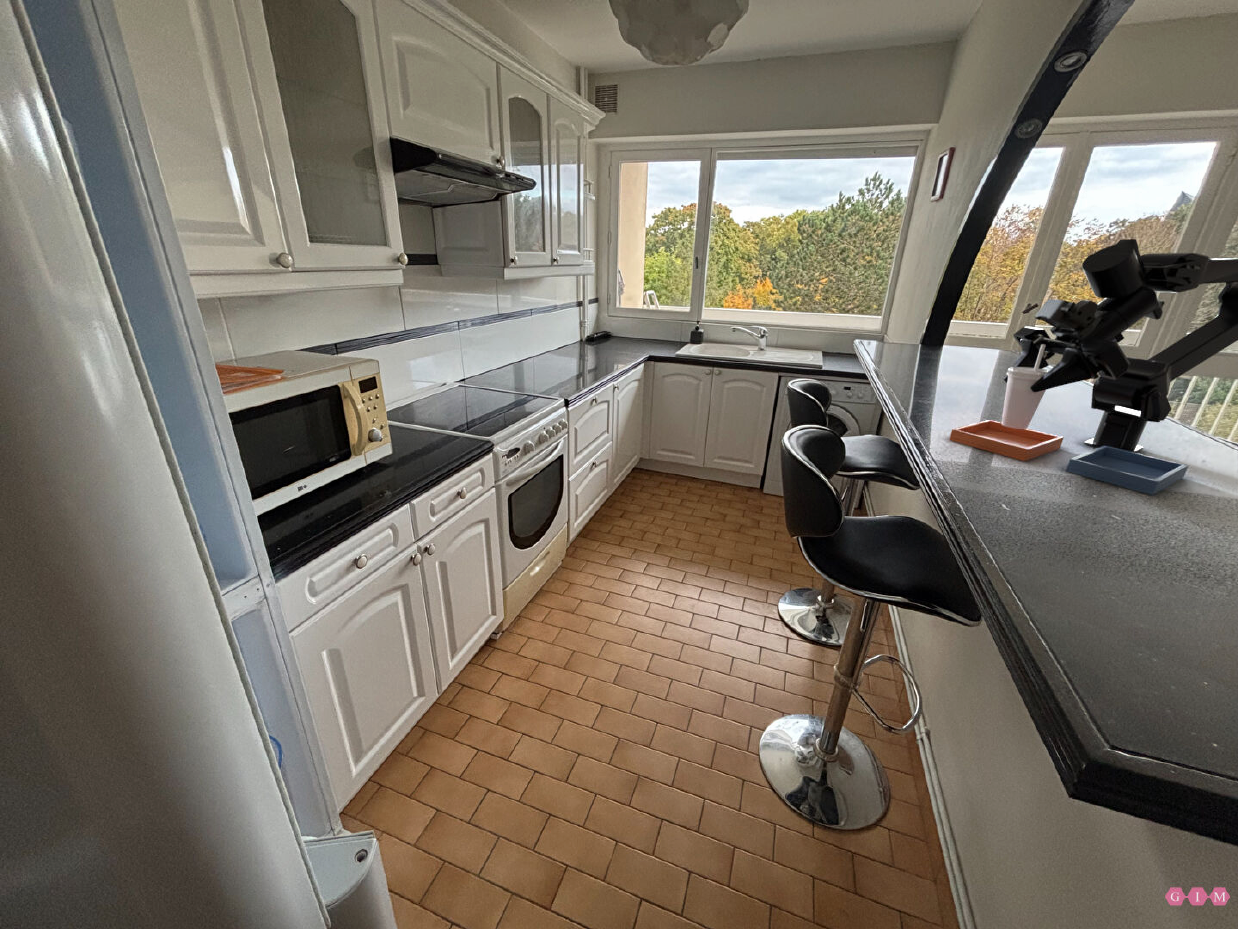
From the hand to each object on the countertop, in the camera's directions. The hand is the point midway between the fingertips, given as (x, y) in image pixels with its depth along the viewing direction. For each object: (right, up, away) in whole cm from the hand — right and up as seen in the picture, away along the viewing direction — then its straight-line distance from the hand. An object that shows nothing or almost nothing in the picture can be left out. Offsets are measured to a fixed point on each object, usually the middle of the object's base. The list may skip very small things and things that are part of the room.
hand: (1018, 385), depth 86 cm
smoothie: (+1, -7, +3) cm, 7 cm away
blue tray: (+12, -15, -6) cm, 20 cm away
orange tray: (+2, -10, +6) cm, 12 cm away
